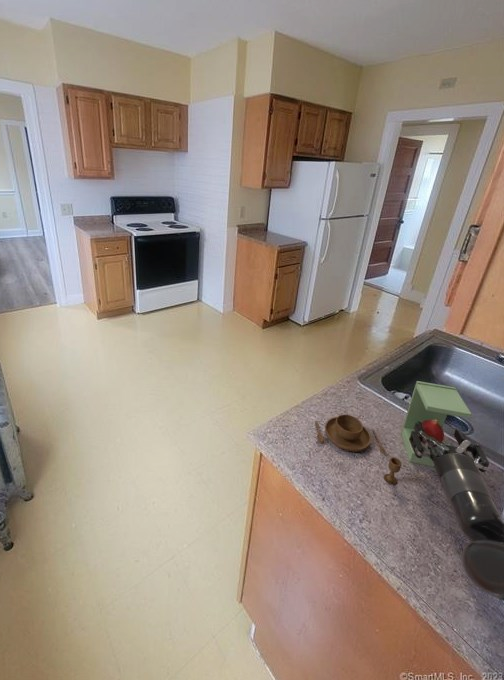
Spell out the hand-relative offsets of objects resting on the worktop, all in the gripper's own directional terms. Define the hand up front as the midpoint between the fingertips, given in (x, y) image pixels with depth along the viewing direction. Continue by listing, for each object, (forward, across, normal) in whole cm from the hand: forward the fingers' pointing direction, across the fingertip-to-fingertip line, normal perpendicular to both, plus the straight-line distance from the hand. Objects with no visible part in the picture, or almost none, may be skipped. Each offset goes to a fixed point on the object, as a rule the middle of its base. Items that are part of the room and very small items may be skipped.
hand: (436, 427), depth 80 cm
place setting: (-3, +19, +10) cm, 21 cm away
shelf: (+2, 0, +10) cm, 10 cm away
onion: (+2, 0, +7) cm, 7 cm away
